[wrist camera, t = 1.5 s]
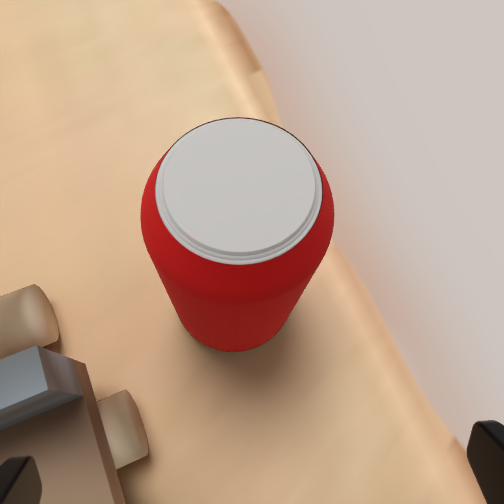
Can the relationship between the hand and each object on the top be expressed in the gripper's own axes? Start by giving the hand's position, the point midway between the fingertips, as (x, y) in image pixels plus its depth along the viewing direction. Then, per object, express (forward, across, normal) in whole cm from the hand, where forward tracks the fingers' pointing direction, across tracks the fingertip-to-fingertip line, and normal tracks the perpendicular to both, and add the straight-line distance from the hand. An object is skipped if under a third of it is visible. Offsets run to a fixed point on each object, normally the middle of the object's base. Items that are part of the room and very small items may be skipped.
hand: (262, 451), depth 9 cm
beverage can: (+14, 0, +4) cm, 15 cm away
